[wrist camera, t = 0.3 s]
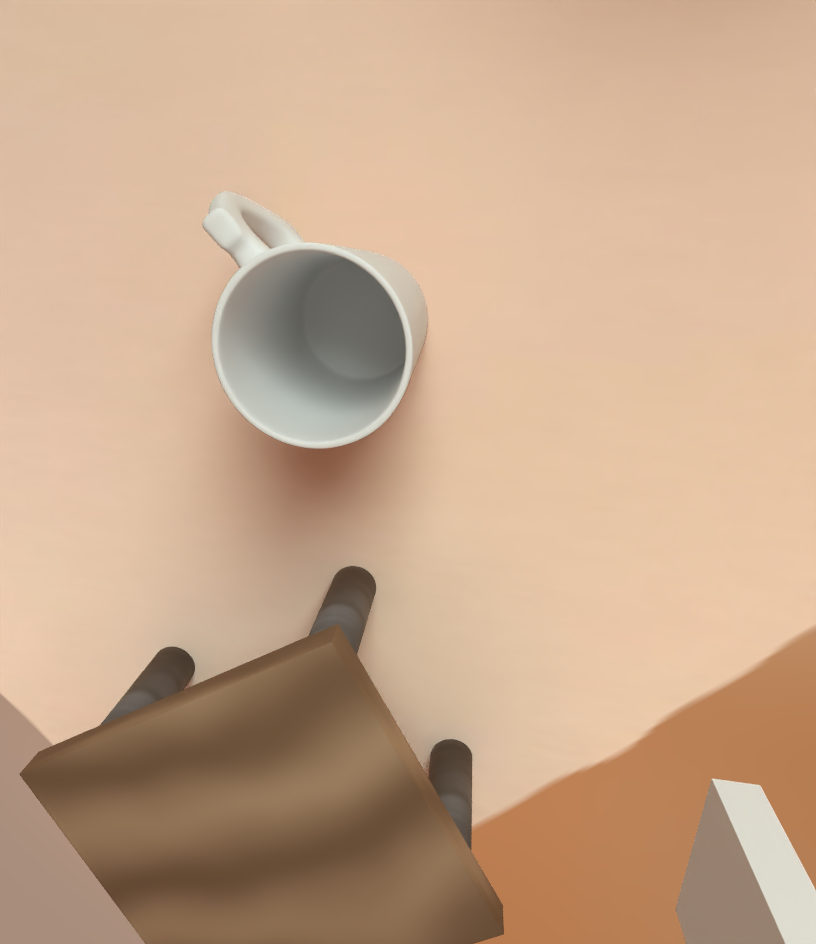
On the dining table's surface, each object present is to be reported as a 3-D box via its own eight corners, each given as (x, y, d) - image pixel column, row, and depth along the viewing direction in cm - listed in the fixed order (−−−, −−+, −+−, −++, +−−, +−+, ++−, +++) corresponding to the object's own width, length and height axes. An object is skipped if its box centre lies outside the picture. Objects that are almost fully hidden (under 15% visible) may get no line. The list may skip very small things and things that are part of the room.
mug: (462, 330, 35) (455, 368, 24) (357, 413, 37) (302, 486, 25) (328, 156, 33) (250, 106, 22) (224, 252, 35) (101, 252, 24)
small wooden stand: (128, 649, 42) (19, 774, 32) (369, 541, 39) (331, 642, 29) (265, 855, 46) (206, 1025, 36) (497, 772, 42) (503, 934, 32)
